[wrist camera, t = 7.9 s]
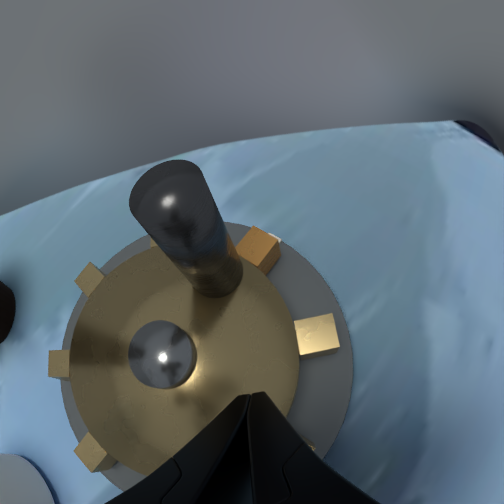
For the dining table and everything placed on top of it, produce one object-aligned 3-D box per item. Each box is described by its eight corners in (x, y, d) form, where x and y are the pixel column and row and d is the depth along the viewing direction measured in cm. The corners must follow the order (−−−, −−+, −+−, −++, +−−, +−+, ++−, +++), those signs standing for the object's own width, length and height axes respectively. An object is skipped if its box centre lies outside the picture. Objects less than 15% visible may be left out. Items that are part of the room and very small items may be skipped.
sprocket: (333, 228, 20) (340, 109, 12) (324, 519, 12) (335, 611, 4) (97, 234, 23) (24, 159, 15) (56, 458, 15) (-52, 453, 7)
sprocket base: (406, 317, 18) (413, 311, 17) (223, 561, 12) (217, 569, 11) (177, 192, 26) (171, 182, 25) (36, 376, 20) (24, 373, 19)
